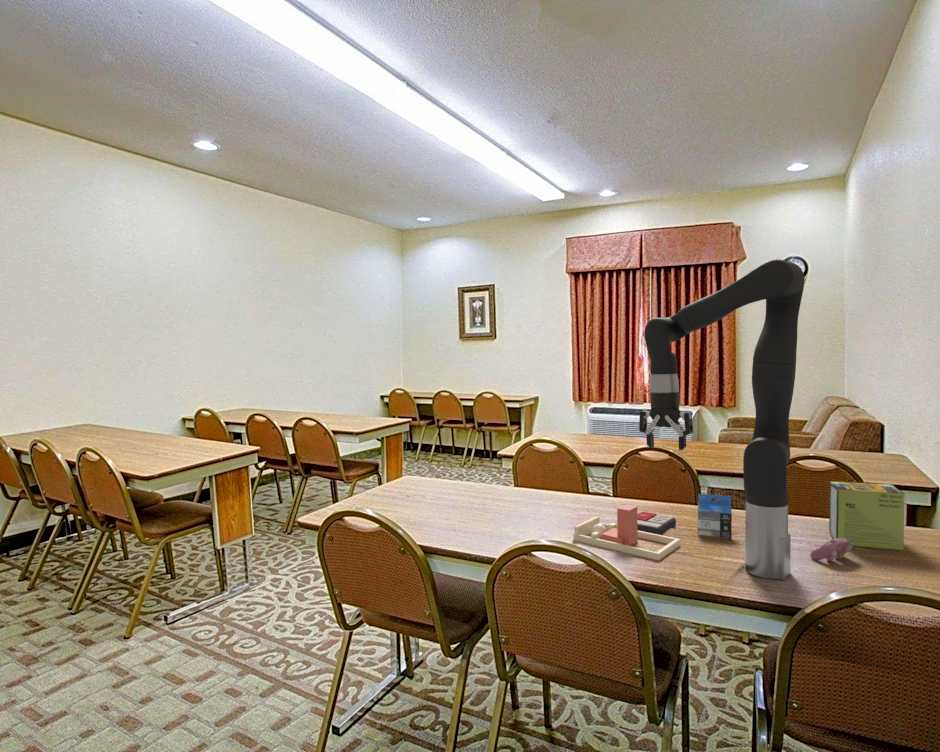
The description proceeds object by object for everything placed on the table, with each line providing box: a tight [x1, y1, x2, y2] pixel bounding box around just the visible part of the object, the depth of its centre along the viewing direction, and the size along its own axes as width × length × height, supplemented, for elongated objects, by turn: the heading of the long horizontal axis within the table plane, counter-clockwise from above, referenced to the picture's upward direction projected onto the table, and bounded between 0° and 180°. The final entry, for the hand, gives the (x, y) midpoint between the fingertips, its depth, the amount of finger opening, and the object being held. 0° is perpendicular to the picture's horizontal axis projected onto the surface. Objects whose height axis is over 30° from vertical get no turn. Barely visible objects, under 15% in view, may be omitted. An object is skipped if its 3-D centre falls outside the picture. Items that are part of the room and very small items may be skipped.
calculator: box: [637, 511, 677, 535], centre depth 173 cm, size 11×4×15 cm
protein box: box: [828, 481, 906, 551], centre depth 159 cm, size 10×15×16 cm
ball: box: [592, 524, 607, 539], centre depth 164 cm, size 4×4×4 cm
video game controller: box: [809, 538, 854, 562], centre depth 147 cm, size 10×5×7 cm, turn 115°
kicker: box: [601, 503, 639, 547], centre depth 159 cm, size 8×7×10 cm
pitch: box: [572, 515, 681, 561], centre depth 159 cm, size 25×14×5 cm, turn 48°
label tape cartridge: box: [697, 493, 733, 541], centre depth 164 cm, size 9×4×12 cm, turn 68°
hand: (666, 448), depth 158 cm, fingers open, 8 cm apart
